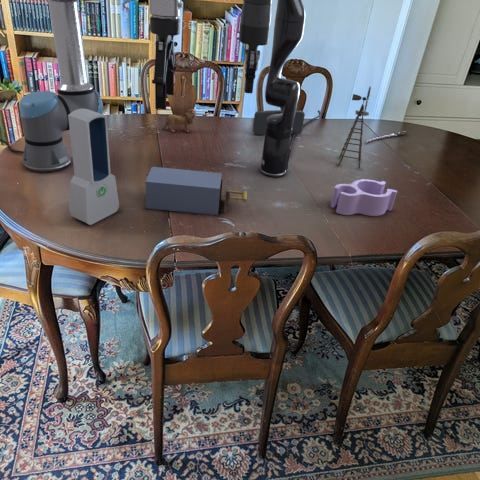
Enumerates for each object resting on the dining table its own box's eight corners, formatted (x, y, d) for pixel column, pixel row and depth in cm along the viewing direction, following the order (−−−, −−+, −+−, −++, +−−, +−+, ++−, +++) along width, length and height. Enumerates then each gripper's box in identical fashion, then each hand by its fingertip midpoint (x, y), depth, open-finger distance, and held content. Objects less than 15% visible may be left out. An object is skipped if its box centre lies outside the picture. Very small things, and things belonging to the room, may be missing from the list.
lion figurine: (194, 127, 202) (194, 107, 197) (197, 132, 198) (198, 111, 193) (160, 128, 197) (160, 107, 192) (163, 133, 193) (163, 112, 188)
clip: (342, 219, 146) (347, 199, 142) (324, 200, 156) (328, 181, 152) (396, 213, 152) (402, 195, 148) (375, 196, 162) (380, 178, 158)
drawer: (245, 199, 149) (248, 179, 145) (245, 214, 141) (247, 193, 137) (165, 191, 149) (165, 171, 145) (160, 206, 141) (160, 185, 137)
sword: (403, 131, 224) (404, 129, 223) (408, 133, 222) (409, 131, 221) (360, 143, 208) (360, 140, 207) (365, 145, 206) (366, 142, 205)
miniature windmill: (359, 169, 181) (379, 91, 164) (338, 165, 182) (355, 87, 165) (359, 160, 188) (378, 84, 172) (338, 156, 189) (355, 81, 173)
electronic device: (87, 227, 129) (77, 121, 112) (68, 218, 132) (56, 113, 115) (120, 210, 138) (114, 110, 122) (101, 202, 141) (94, 103, 125)
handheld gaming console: (299, 131, 211) (303, 109, 205) (302, 133, 208) (305, 111, 203) (251, 133, 203) (254, 110, 198) (254, 135, 201) (256, 112, 196)
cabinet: (220, 198, 150) (222, 173, 145) (217, 215, 141) (219, 188, 136) (152, 192, 149) (152, 166, 145) (145, 208, 140) (145, 181, 136)
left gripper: (172, 25, 106) (171, 116, 118) (186, 11, 127) (184, 90, 139) (139, 22, 106) (142, 114, 117) (158, 9, 127) (159, 87, 138)
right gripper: (271, 28, 111) (262, 100, 121) (269, 20, 123) (261, 87, 132) (239, 25, 111) (233, 98, 121) (241, 17, 122) (235, 84, 132)
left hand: (165, 101), depth 128 cm, fingers open, 13 cm apart
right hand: (248, 92), depth 126 cm, fingers closed
